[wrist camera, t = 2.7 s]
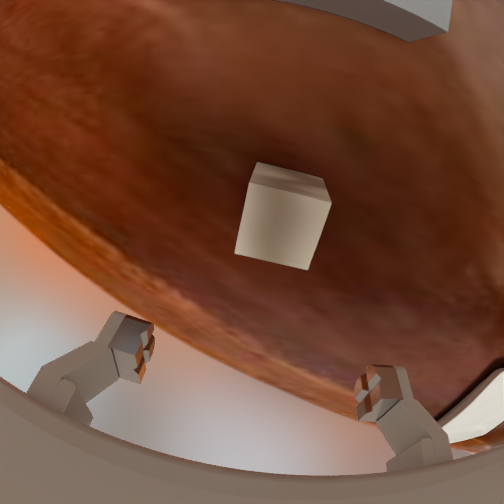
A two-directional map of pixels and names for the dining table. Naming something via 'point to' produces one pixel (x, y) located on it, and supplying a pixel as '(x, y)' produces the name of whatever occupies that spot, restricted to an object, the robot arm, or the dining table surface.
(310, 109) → the dining table surface
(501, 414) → the square plate
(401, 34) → the pedestal
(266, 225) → the cream cube
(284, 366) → the dining table surface
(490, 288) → the dining table surface
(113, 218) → the dining table surface
